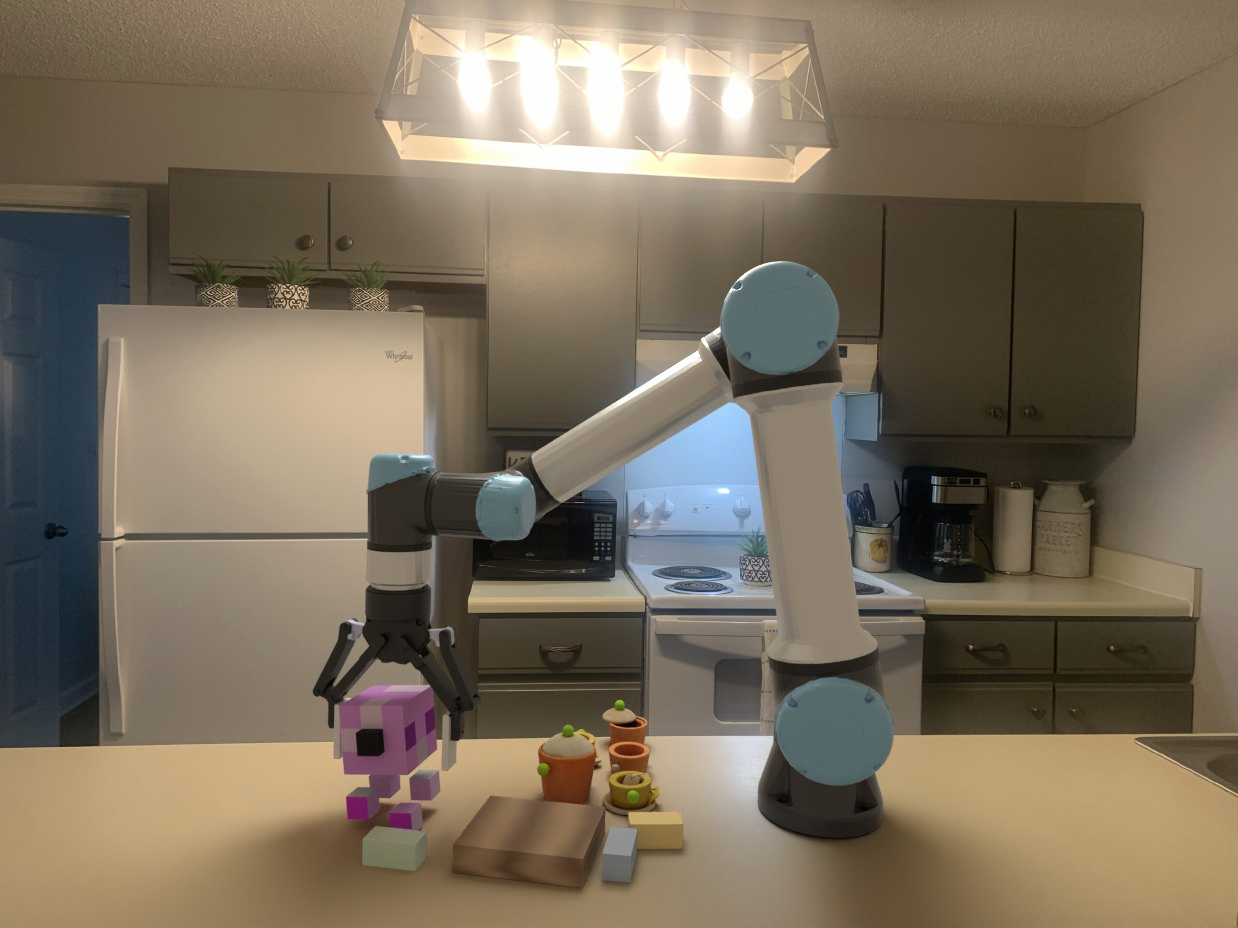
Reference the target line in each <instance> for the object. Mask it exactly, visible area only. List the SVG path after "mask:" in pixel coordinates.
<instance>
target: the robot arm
mask: <svg viewBox="0 0 1238 928" xmlns="http://www.w3.org/2000/svg"><path fill="white" fill-rule="evenodd" d="M839 309H840V308H839V304H838V301H837V298H836V296H835V293H834V292H833V290H832V289H831V287H830V285H829V284H828V283H827V281H826V280H825V279H824V278H823V277H822V276H821V275H820V274H819V273H817V272H816V271H815V270H813V269H811V268H810V267H809V266H808V267H807V266H806V265H803V264H800V263H797V262H793V261H785V260H781V261H771V262H767V263H763V264H760V265H758V266H756V267H753V268H752V269H750V270H748V271H747V272H745V273H744V274H743V275H741V276H740V277H739V278H738V279H737V281H735V282H734V284H733V285H732V286H731V288H730V290H729V291H728V293H727V295H726V296H725V297H724V301H723V305H722V307H721V310H720V316H719V326H718V327H717V328H716V329H714V330H713V331H712V332H709V334H706V335H705V336H704V337H702V338H701V339H700V341H699V342H700V343H699V346H698V349H697V350H696V351H695V352H694V353H692V354H690V355H689V356H687V357H685V358H684V359H682V360H681V361H679V362H678V363H676V364H674V365H673V366H671V367H669V368H667V369H666V370H664V371H663V372H662V373H660V374H658V375H656V376H654V377H653V378H652V379H650V380H648V381H646V382H645V383H644V384H641V386H639V387H638V388H636V389H634V390H632V391H631V392H629V393H628V394H626V395H624V396H623V397H622V398H620V399H618V400H617V401H615V402H612V403H611V404H610V405H608V406H607V407H605V408H604V409H602V410H600V411H598V412H597V413H595V414H594V415H593V416H591V417H589V418H588V419H586V420H585V421H583V422H581V423H579V424H578V425H576V426H575V427H573V428H571V429H570V430H568V431H567V432H565V433H563V434H562V435H560V436H559V437H557V438H555V439H553V440H552V441H551V442H549V443H547V444H546V445H544V446H543V447H541V448H538V450H536V451H534V452H533V453H532V454H529V456H527V457H525V458H523V459H521V460H520V461H518V462H517V463H515V464H513V465H511V466H510V467H509V468H507V469H504V470H500V471H499V470H498V471H494V472H485V473H474V472H473V473H470V472H469V473H468V472H466V473H465V472H464V473H463V472H462V473H460V472H446V471H445V472H443V471H441V470H439V471H438V470H436V466H435V459H434V458H433V456H432V455H429V454H424V453H423V454H420V453H403V452H401V453H400V452H399V453H393V452H392V453H390V452H389V453H387V452H386V453H385V452H384V453H378V454H375V455H374V456H372V458H371V460H370V462H369V466H368V467H369V469H368V481H367V489H366V492H365V493H366V495H367V540H366V541H367V542H366V559H365V561H366V562H365V581H366V582H367V583H369V584H368V585H367V587H365V597H364V599H365V602H364V614H365V622H359V620H358V619H357V618H355V617H352V618H350V619H347V620H346V621H344V622H341V623H340V624H339V627H338V635H337V641H336V643H335V645H334V647H333V649H332V651H331V653H330V655H329V657H328V659H327V660H326V663H325V665H324V667H323V669H322V671H321V672H320V674H319V677H318V679H317V680H316V682H315V684H314V687H313V689H312V695H313V696H314V697H317V698H318V697H321V698H323V699H325V700H326V702H327V705H328V706H327V725H328V728H329V729H332V730H333V760H340V759H343V753H342V740H341V728H340V715H339V706H340V705H341V704H343V703H345V702H346V701H348V700H350V699H351V698H352V697H345V696H347V695H348V693H349V691H351V689H352V688H353V687H354V685H356V684H357V682H358V681H360V679H361V678H362V677H363V675H364V674H366V672H367V671H368V670H369V669H370V668H371V666H372V665H373V664H374V663H375V662H376V661H377V660H379V661H380V663H382V664H390V663H395V664H398V665H404V666H405V665H407V664H410V663H411V665H412V666H413V668H414V669H415V670H416V671H418V672H420V675H421V676H423V679H425V680H426V682H427V683H428V685H430V686H431V687H432V689H433V693H435V694H436V696H437V697H438V699H439V700H440V701H441V702H442V704H443V705H444V707H445V708H446V709H447V711H445V713H444V714H443V715H442V730H441V732H442V734H441V736H442V738H441V767H440V768H441V771H442V772H443V771H444V772H448V771H449V770H450V769H451V768H452V767H453V766H454V765H455V764H456V763H457V750H458V749H457V744H458V743H457V742H459V741H460V740H461V739H462V738H463V737H464V735H465V724H466V723H465V718H466V717H465V716H466V712H472V711H474V709H476V707H478V705H480V704H481V701H482V699H481V695H480V693H479V690H478V688H477V686H476V684H475V682H474V680H473V677H472V675H471V673H470V669H469V668H468V666H467V663H466V661H465V659H464V656H463V654H462V652H461V650H460V647H459V644H458V636H457V629H456V627H455V625H449V626H447V627H444V628H433V626H432V625H431V613H432V610H431V608H432V587H431V585H430V584H429V582H430V581H431V580H432V567H433V565H432V563H433V559H432V558H433V556H432V555H433V552H432V551H433V537H453V538H465V539H467V538H468V539H481V540H492V541H493V542H501V541H519V540H523V539H525V538H526V537H528V536H529V534H530V532H531V530H532V528H533V526H534V523H536V522H537V521H539V520H540V519H542V518H543V517H544V516H545V514H546V513H549V512H550V511H552V510H554V509H555V508H556V507H558V506H560V505H561V504H562V503H564V502H566V501H568V500H569V499H571V498H572V497H574V496H577V494H579V493H581V492H582V491H585V490H586V489H587V488H589V487H591V486H593V485H594V484H596V483H598V482H599V481H601V480H602V479H604V478H606V477H607V476H609V475H611V474H613V473H614V472H616V471H618V470H619V469H621V468H622V467H624V466H626V465H627V464H629V463H630V462H632V461H634V460H635V459H637V458H639V457H641V456H642V455H643V454H645V453H647V452H649V451H651V450H652V449H654V448H656V447H658V446H659V445H660V444H663V443H664V442H666V441H667V440H668V439H671V438H672V437H674V436H676V435H677V434H679V433H680V432H682V431H684V430H686V429H687V428H689V427H690V426H692V425H694V424H696V423H697V422H699V421H701V420H702V419H704V418H705V417H707V416H708V415H709V416H710V414H712V413H713V412H716V411H718V410H719V409H721V408H722V407H724V406H725V405H727V404H730V403H731V404H736V405H737V406H739V407H740V408H741V409H743V410H744V411H745V412H746V413H747V415H749V420H750V426H751V435H752V442H753V443H752V444H753V449H754V457H755V464H756V472H757V480H758V487H759V494H760V495H759V496H760V502H761V509H762V510H761V511H762V516H763V524H764V533H765V540H766V547H767V555H768V561H769V570H770V577H771V585H772V593H773V599H774V606H775V614H776V622H777V628H778V629H777V631H776V637H775V639H774V640H773V641H772V642H771V644H770V645H769V646H768V647H767V649H766V651H767V653H766V654H767V660H768V668H769V677H770V683H771V692H772V696H773V697H772V698H773V707H774V708H773V735H772V736H773V740H772V745H771V748H770V751H769V754H768V757H767V758H766V762H765V765H764V767H763V770H762V772H761V774H760V775H761V776H760V778H759V780H758V786H757V806H758V808H759V811H760V812H761V813H762V815H764V816H765V817H766V818H767V819H769V820H770V821H771V822H773V823H775V824H777V825H779V826H781V827H783V828H785V829H788V830H790V831H794V832H797V833H801V834H804V835H809V836H814V837H820V838H821V837H823V838H835V839H836V838H837V839H838V838H852V837H858V836H863V835H866V834H868V833H871V832H872V831H875V830H876V829H877V828H878V827H880V826H881V824H882V822H883V819H884V817H883V816H884V800H883V799H884V798H883V794H882V791H881V787H880V784H879V781H878V778H877V775H876V773H877V772H878V771H879V770H880V768H881V767H882V766H883V765H884V764H885V763H886V761H887V760H888V758H889V756H890V754H891V751H892V748H893V744H894V736H895V735H894V734H895V722H894V721H895V720H894V717H893V714H892V712H891V710H890V706H889V705H888V703H887V702H886V695H885V688H884V681H883V674H882V666H881V658H880V657H881V656H880V652H879V651H880V650H879V644H878V640H877V638H875V637H874V635H873V636H872V634H871V632H870V631H868V630H866V629H863V627H862V626H861V621H860V615H859V606H858V605H859V604H858V599H857V591H856V584H855V575H854V569H853V561H852V553H851V545H850V538H849V530H848V523H847V517H846V516H847V515H846V509H845V502H844V501H845V500H844V494H843V492H844V491H843V487H842V486H843V485H842V478H841V471H840V463H839V457H838V456H839V455H838V448H837V441H836V433H835V427H834V420H833V419H834V417H833V411H832V402H833V400H834V398H835V397H836V396H837V395H838V393H840V391H841V389H842V388H843V387H844V382H843V375H842V374H843V373H842V366H841V359H840V350H839V349H840V348H839V343H838V336H837V335H838V334H837V333H838V331H839V324H840V310H839ZM361 635H362V637H363V639H364V640H365V641H366V643H367V645H368V647H367V648H366V649H365V650H364V651H363V652H362V654H361V655H360V656H359V657H358V659H357V661H356V662H355V663H354V664H353V665H352V666H351V667H350V669H349V670H348V671H347V672H346V673H345V674H344V675H343V676H342V677H341V678H340V680H339V681H338V682H337V683H336V684H335V682H336V681H337V679H338V677H339V675H340V673H341V671H342V669H343V667H344V665H345V663H346V661H347V659H348V658H349V655H350V653H351V651H352V649H353V647H354V645H355V644H356V641H357V639H360V637H361ZM431 641H434V643H435V646H436V647H438V648H439V650H440V654H441V658H442V659H443V663H445V667H446V669H447V671H448V673H449V676H450V678H451V679H450V678H449V676H448V675H447V674H446V672H445V671H444V670H443V668H442V667H441V666H440V664H439V663H438V662H437V660H436V656H435V654H434V653H433V651H432V649H431V647H429V646H428V645H429V643H430V642H431ZM451 680H452V681H451ZM344 697H345V698H344Z"/></svg>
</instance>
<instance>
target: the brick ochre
mask: <svg viewBox="0 0 1238 928" xmlns="http://www.w3.org/2000/svg"><path fill="white" fill-rule="evenodd" d="M627 816H628V817H627V819H628V821H627V828H633V829H637V850H661V849H662V850H667V849H668V850H669V849H673V850H675V849H676V850H677V849H678V850H679V849H681V850H683V848H684V847H683V846H684V844H683V843H684V822H683V818H682V815H681V811H649V812H628V815H627Z"/></svg>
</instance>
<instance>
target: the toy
mask: <svg viewBox="0 0 1238 928" xmlns="http://www.w3.org/2000/svg"><path fill="white" fill-rule="evenodd" d="M350 698H351V699H350V700H348V701H346V702H345V703H343V704H341V705H340V706H339V715H340V728H341V740H342V753H343V757H342V763H343V765H342V766H343V775H345V776H346V775H350V776H351V775H353V776H354V775H359V776H361V775H362V776H364V775H365V776H366V775H367V776H368V784H369V786H367V787H366V786H363V787H362V786H358V787H356V788H355V789H353V790H352V791H351V792H350V793H348V795H346V796H345V803H346V805H345V806H346V815H347V820H355V821H359V820H360V821H369V820H371V818H372V817H374V816H375V815H376V814H377V813H378V812H379V811H380V810H381V807H380V806H381V805H380V799H391V798H392V797H393V796H395V795H396V794H397V793H398V792H400V790H401V776H409V775H410V774H411V773H412V772H413V771H415V770H416V769H417V768H418V767H419V766H420V765H422V763H424V762H426V761H425V760H427V759H428V758H429V757H430V756H432V754H434V753H435V752H436V751H437V750H438V740H437V728H436V727H437V726H436V715H435V714H436V713H435V700H434V699H435V698H434V690H433V689H432V687H431V686H430V685H429V684H402V685H401V684H398V685H397V684H392V685H389V684H388V685H372V686H369V687H368V688H366V689H365V690H363V691H361V692H360V693H358V694H357V695H354V696H353V697H350ZM408 779H409V792H410V794H409V795H410V801H418V802H399V803H398V804H396V806H395V807H393V808H392V809H391V811H390V812H389V814H388V815H389V825H390V828H399V829H409V830H418V831H420V830H421V828H422V827H423V826H424V824H423V811H422V810H423V808H422V802H419V801H424V802H425V801H430V802H431V801H433V800H434V799H435V798H436V796H438V795H439V793H440V792H441V780H440V779H441V778H440V769H418V770H417V771H416V772H415V773H414V774H413V775H411V776H410V777H409V778H408Z"/></svg>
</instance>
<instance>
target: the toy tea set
mask: <svg viewBox="0 0 1238 928" xmlns="http://www.w3.org/2000/svg"><path fill="white" fill-rule="evenodd" d="M625 706H626V703H625V702H624V700H621V699H618V700H616V701H615V703H614V707H612V708H610V709H607V710H606V711H605V712H603V714H602V719H603V720H604V722H608V729H609V738H610V746H609V748H608V757H609V765H610V773H611V775H610V776H609V778H608V785H609V786H608V787H609V791H608V792H607V793H605V794H604V796H603V798H602V805H603V807H605V809H606V810H608V811H610V812H611V813H614V814H617V815H621V816H628V812H652V810H654V808H655V807H656V801H657V800H656V798H657V797H658V796H659V795H660V790H661V789H660V786H657V785H656V784H653V783H652V778H651V775H650V774H649V773H647V771H648V765H649V761H650V760H649V759H650V753H651V751H650V748H649V747H648V746H647V745H645V742H646V741H645V739H646V735H647V729H648V721H647V720H646V719H645V718H644V717H641V716H637V715H636V714H635V713H634V712H632V710H630V709H629V708H626V707H625ZM595 744H596V737H595V736H594V735H593V734H592V733H590V732H586V731H585V730H584V729H582V728H581V729H578V730H577V731H575V729H574V727H573V726H572V725H570V724H566V725H565V726H563V727H562V731H561V732H559V733H556V734H554V735H553V736H552V737H550V738H549V739H548V740H546V742H543V743H542V744H541V745H540V746H539V747H538V750H537V757H538V763H539V764H538V766H537V768H536V770H537V771H536V772H537V774H538V775H539V776H540V777H541V778H540V779H541V788H542V795H543V799H544V800H543V801H551V802H561V803H571V804H581V805H584V804H585V803H587V801H588V800H589V799H590V795H591V788H592V783H593V776H594V771H595V766H596V765H598V764H601V763H602V758H599V754H598V753H597V749H596V746H595Z"/></svg>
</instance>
